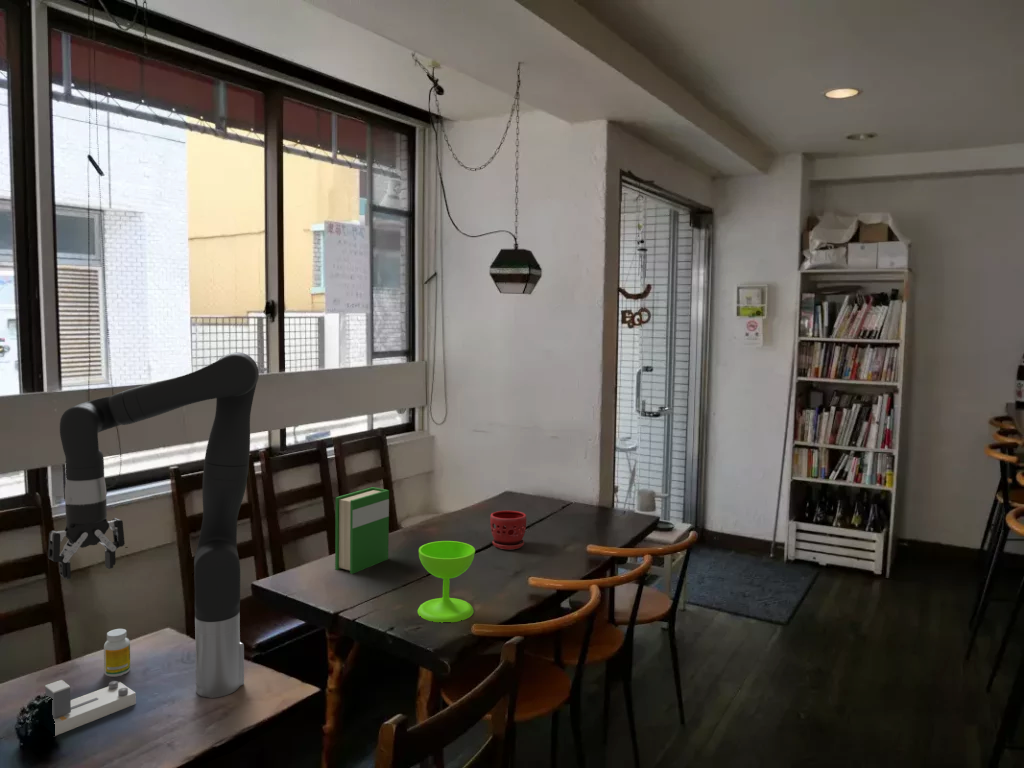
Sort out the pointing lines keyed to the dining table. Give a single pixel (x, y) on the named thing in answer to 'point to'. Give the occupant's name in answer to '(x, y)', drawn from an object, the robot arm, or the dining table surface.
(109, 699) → the console
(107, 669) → the supplement bottle
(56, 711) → the fader tab
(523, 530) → the plant pot
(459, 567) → the wineglass
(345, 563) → the hardback book
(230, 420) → the robot arm
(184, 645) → the dining table surface
